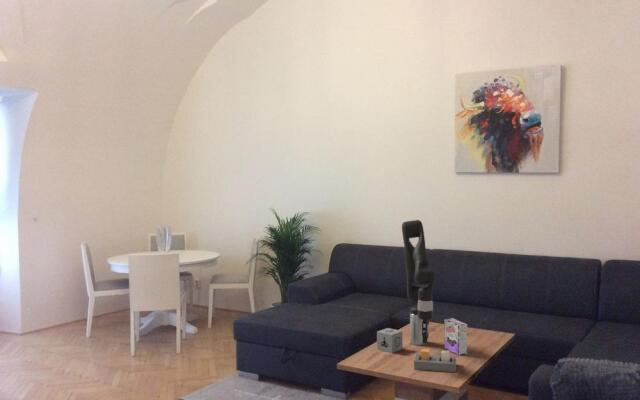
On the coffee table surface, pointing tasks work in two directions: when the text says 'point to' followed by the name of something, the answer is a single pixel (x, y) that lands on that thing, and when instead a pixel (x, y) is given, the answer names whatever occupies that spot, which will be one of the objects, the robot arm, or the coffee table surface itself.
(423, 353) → the orange plug
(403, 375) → the coffee table surface
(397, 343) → the icon cube
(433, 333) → the coffee table surface
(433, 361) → the grey slotted holder
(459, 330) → the candy box
